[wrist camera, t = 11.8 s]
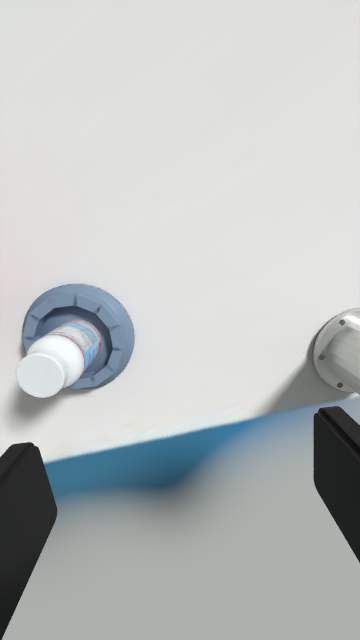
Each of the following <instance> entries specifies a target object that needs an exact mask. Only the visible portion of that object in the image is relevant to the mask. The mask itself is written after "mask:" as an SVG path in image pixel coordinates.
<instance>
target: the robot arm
mask: <svg viewBox="0 0 360 640" xmlns="http://www.w3.org/2000/svg"><path fill="white" fill-rule="evenodd" d="M313 361H314V366H315V369H316V371H317V373H318V374H319V376H320V377H321V378H322V379H323V380H324V381H325V382H326V383H327V384H329V385H330V386H331V387H333V388H335V389H337V390H341V391H345V392H357V393H358V394H359V395H360V308H356V309H352V310H348V311H345V312H343V313H341V314H339V315H337V316H336V317H335V318H333V319H332V320H330V321H329V322H328V323H327V324H326V325H325V326H324V328H323V329H322V330H321V332H320V333H319V335H318V337H317V339H316V341H315V345H314V349H313ZM314 483H315V486H316V489H317V491H318V493H319V495H320V496H321V498H322V499H323V501H324V503H325V505H326V507H327V508H328V510H329V512H330V513H331V515H332V517H333V518H334V520H335V522H336V523H337V525H338V526H339V528H340V530H341V531H342V533H343V535H344V537H345V539H346V540H347V542H348V544H349V545H350V547H351V549H352V550H353V552H354V554H355V555H356V557H357V559H358V560H359V562H360V425H358V423H357V422H355V421H354V420H353V419H352V418H351V417H350V416H349V415H348V414H347V413H346V412H345V411H344V410H343V409H342V408H340V407H338V406H335V407H326V408H320V409H319V411H318V413H316V414H315V415H314ZM56 517H57V507H56V503H55V500H54V496H53V493H52V490H51V487H50V483H49V480H48V477H47V474H46V470H45V467H44V464H43V460H42V457H41V454H40V451H39V448H38V447H37V446H34V444H33V443H31V442H28V443H20V444H13V445H11V446H10V447H9V448H8V449H7V450H6V452H5V453H4V454H3V455H2V456H1V457H0V640H2V637H3V635H4V633H5V630H6V629H7V626H8V624H9V622H10V620H11V618H12V615H13V613H14V611H15V609H16V607H17V604H18V602H19V600H20V598H21V596H22V593H23V591H24V589H25V587H26V584H27V582H28V580H29V578H30V576H31V574H32V571H33V569H34V567H35V565H36V562H37V560H38V558H39V556H40V554H41V551H42V549H43V547H44V545H45V543H46V540H47V538H48V536H49V534H50V531H51V529H52V527H53V525H54V523H55V520H56Z"/></svg>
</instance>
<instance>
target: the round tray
mask: <svg viewBox="0 0 360 640" xmlns="http://www.w3.org/2000/svg"><path fill="white" fill-rule="evenodd" d="M71 320H83V321H86V322H88V323H90V324H91V325H93V326H94V327H95V328H96V329H97V330H98V332H99V334H100V336H101V340H102V345H101V349H100V351H99V353H98V355H97V356H96V357H95V358H94V360H93V361H92V362H91V364H90V365H89V366H88V367H87V369H86V370H85V371H84V373H83V374H82V375H81V376H80V378H79V379H78V380H77V381H76V382H75V383H73V384H72V385H70V386H68V387H66V388H69V389H89V388H95V387H99V386H102V385H104V384H107V383H109V382H110V381H112V380H113V379H115V378H116V377H117V376H118V375H119V374H120V373H121V372H122V371H123V370H124V369H125V367H126V366H127V364H128V362H129V360H130V358H131V355H132V352H133V348H134V338H135V337H134V329H133V325H132V322H131V319H130V317H129V315H128V313H127V311H126V310H125V309H124V307H123V306H122V305H121V304H120V303H119V302H118V300H116V299H115V298H114V297H113V296H112V295H110V294H109V293H107V292H105V291H104V290H101V289H99V288H97V287H94V286H90V285H85V284H68V285H63V286H59V287H56V288H53V289H51V290H49V291H47V292H45V293H43V294H42V295H41V296H39V297H38V298H37V299H36V300H35V301H34V302H33V304H32V305H31V306H30V308H29V310H28V312H27V314H26V316H25V319H24V324H23V335H22V340H23V344H24V347H25V351H26V354H27V351H28V350H29V348H30V346H31V345H32V344H33V343H34V342H36V341H37V340H38V339H40V338H41V337H43V336H45V335H46V334H48V333H49V332H51V331H53V330H54V329H56V328H58V327H59V326H61V325H62V324H64V323H66V322H68V321H71Z"/></svg>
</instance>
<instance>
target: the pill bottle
mask: <svg viewBox="0 0 360 640" xmlns="http://www.w3.org/2000/svg"><path fill="white" fill-rule="evenodd" d="M101 345H102V340H101V336H100V334H99V332H98V330H97V329H96V328H95V327H94V326H93V325H91V324H90V323H88V322H86V321H83V320H71V321H68V322H66V323H64V324H62V325H61V326H59V327H58V328H56V329H54V330H53V331H51V332H49V333H48V334H46V335H45V336H43V337H41V338H40V339H38V340H37V341H36V342H34V343H33V344H32V345H31V346H30V348H29V350H28V351H27V354H26V357H24V358H23V359H22V360H21V361H20V362H19V364H18V366H17V369H16V379H17V382H18V384H19V386H20V387H21V388H22V389H23V390H24V391H25V392H26V393H28V394H30V395H32V396H34V397H39V398H46V397H51V396H53V395H55V394H56V393H58V392H59V391H60V390H61V389H63V388H66V387H68V386H70V385H72V384H73V383H75V382H76V381H77V380H78V379H79V378H80V376H81V375H82V374H83V373H84V371H85V370H86V369H87V367H88V366H89V365H90V364H91V362H92V361H93V360H94V358H95V357H96V356H97V355H98V353H99V351H100V349H101Z"/></svg>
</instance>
